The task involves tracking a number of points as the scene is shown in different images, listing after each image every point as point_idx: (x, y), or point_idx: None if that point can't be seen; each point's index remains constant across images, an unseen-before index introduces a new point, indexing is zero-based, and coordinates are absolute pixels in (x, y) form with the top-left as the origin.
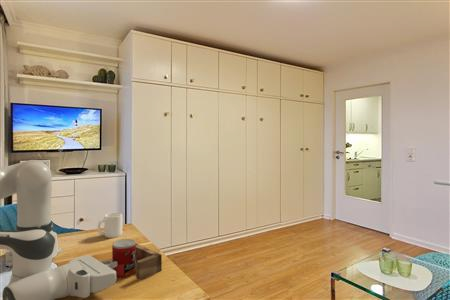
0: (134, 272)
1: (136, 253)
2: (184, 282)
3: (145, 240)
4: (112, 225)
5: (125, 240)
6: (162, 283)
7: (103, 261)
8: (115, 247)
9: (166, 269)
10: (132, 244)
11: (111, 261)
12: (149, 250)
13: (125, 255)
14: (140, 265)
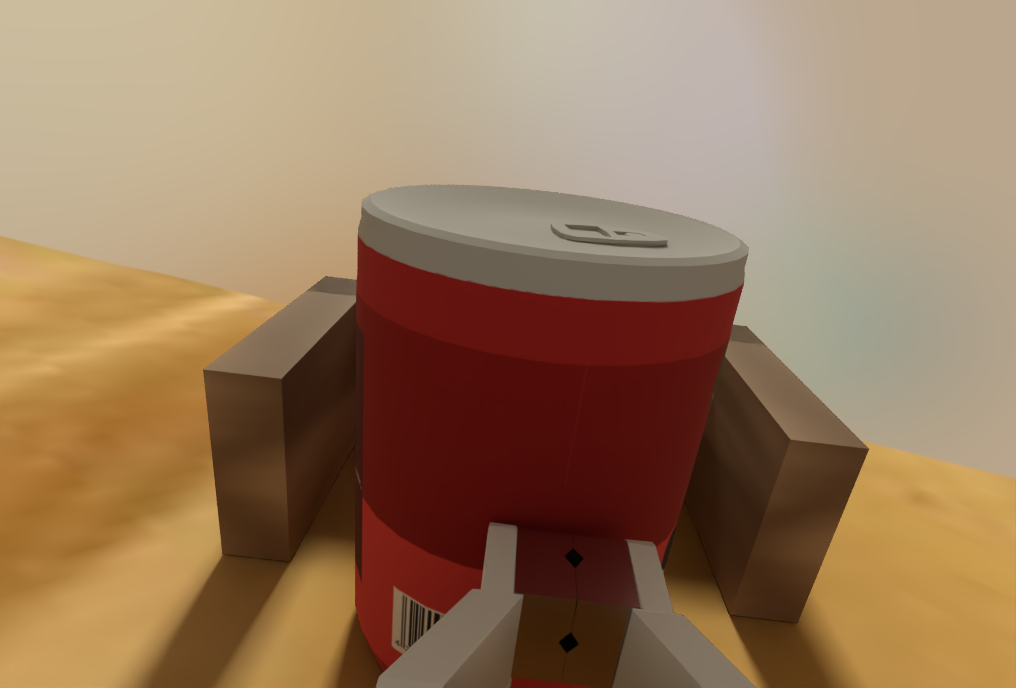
0: None
1: None
2: (991, 489)
3: (202, 285)
4: None
5: (462, 202)
6: (957, 561)
7: (454, 675)
8: (609, 287)
9: None
10: (713, 227)
11: (586, 583)
12: None
13: (711, 401)
14: (850, 474)
